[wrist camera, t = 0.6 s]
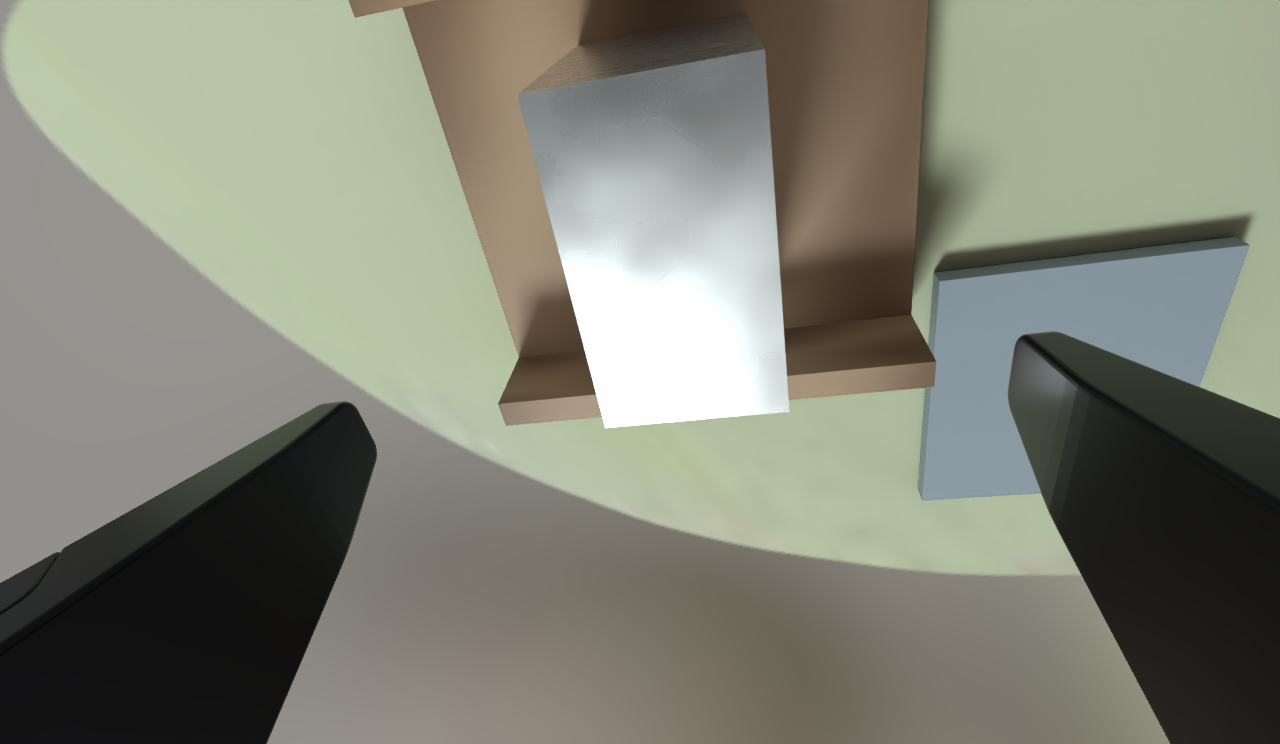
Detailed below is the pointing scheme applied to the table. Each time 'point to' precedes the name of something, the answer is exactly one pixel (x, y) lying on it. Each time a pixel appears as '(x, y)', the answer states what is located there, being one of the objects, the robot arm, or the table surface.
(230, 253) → the table surface
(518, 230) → the brown wooden tray
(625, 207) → the metal block
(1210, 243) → the rest mat
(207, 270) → the table surface
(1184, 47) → the table surface
